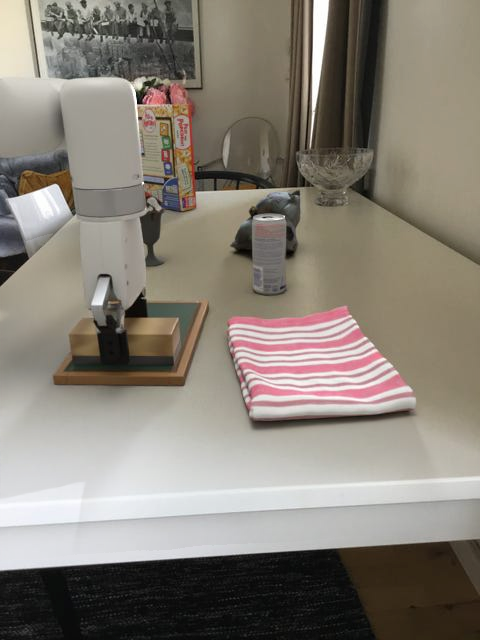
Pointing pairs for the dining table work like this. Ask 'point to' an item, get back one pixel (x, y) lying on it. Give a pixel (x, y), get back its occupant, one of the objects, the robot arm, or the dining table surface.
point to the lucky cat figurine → (273, 205)
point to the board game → (168, 154)
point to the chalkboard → (176, 374)
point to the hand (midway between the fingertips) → (126, 344)
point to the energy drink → (269, 253)
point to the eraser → (130, 341)
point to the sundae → (151, 227)
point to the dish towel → (313, 368)
